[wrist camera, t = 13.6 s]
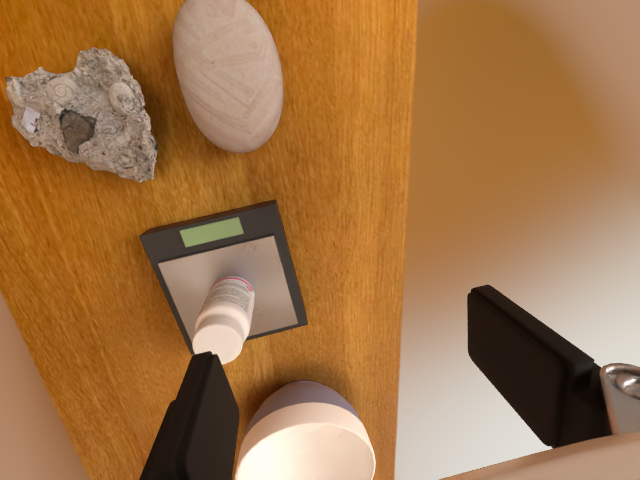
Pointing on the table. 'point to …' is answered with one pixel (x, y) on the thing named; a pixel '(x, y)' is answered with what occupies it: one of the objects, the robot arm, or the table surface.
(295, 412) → the bowl
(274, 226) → the scale
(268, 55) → the decorative stone
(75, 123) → the mineral specimen
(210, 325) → the pill bottle
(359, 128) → the table surface
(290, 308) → the scale pan
